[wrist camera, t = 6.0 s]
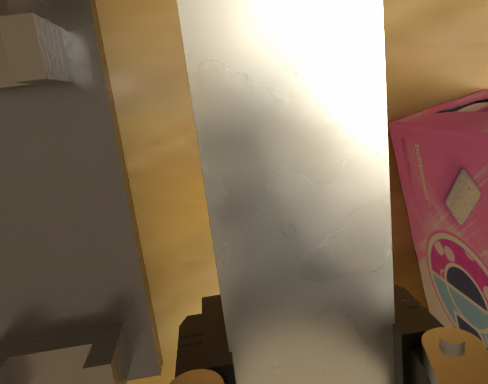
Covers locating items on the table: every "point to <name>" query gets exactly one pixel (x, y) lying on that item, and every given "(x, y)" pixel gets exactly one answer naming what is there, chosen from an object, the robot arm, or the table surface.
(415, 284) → the table surface
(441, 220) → the gum box
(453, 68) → the table surface
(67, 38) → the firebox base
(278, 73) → the pale grey long bar
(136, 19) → the table surface
